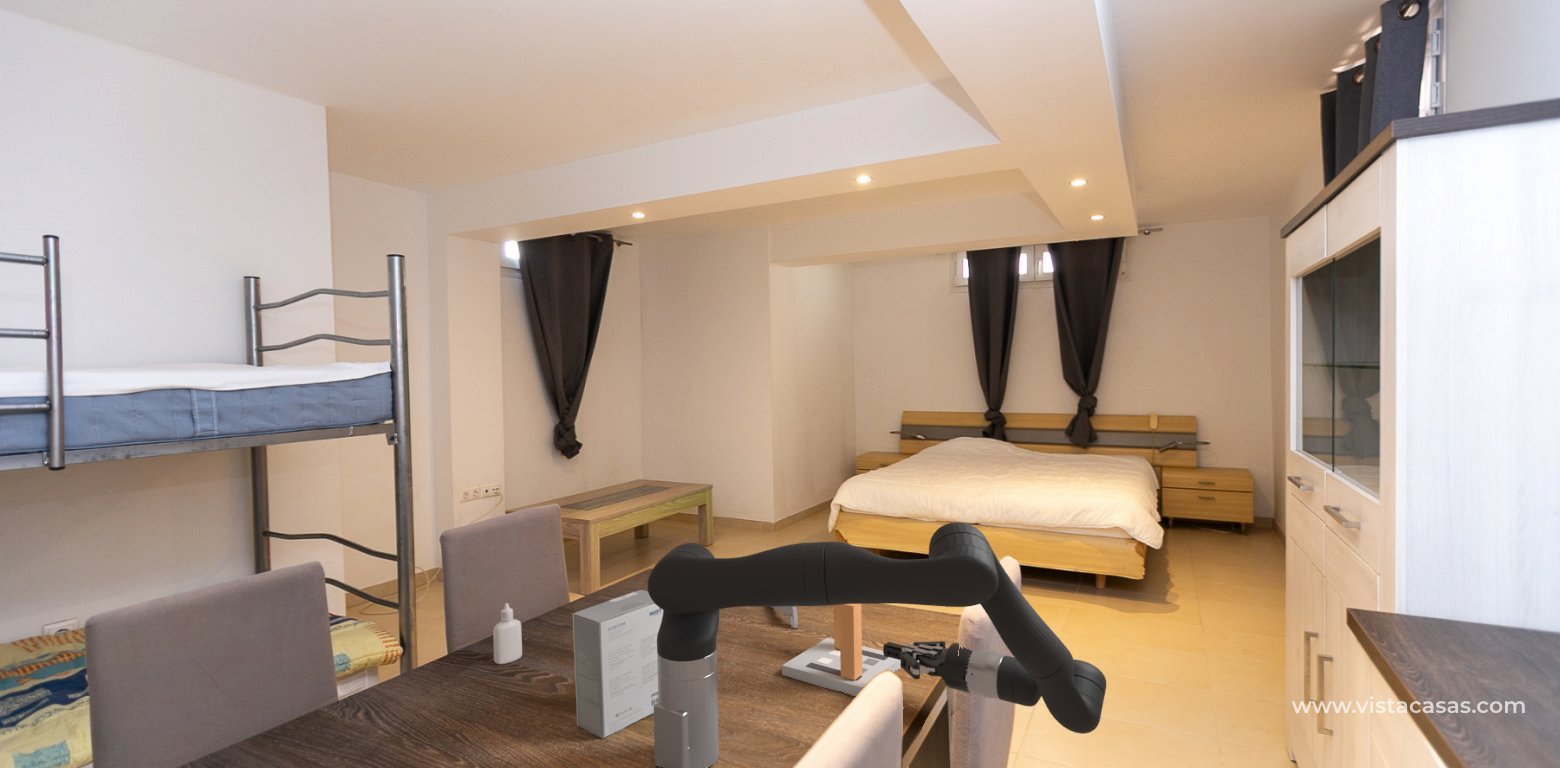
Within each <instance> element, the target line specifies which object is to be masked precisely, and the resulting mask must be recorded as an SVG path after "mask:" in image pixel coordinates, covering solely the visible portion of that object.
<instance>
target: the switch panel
mask: <svg viewBox="0 0 1560 768" xmlns="http://www.w3.org/2000/svg"><path fill="white" fill-rule="evenodd" d="M900 663H901V660H898V659H894V658H890V657H886V656H884V654H883V650H880V649H876V648H872V647H868V646H864V645H862V675H861V676H860V677H858V678H857V679H856V680H852V679H848V678H844V677H841V664H840V649H836V648H834V638H831V637H826V638H824V639H823V640H820V642H818V643H816V644H815V645H813V646H811V647H809V648H808V649H807V650H804V651H803V652H801V653H800V654H798V655H796V656H795V657H793V658H791V659H790V660H788V661H787V662H785V663H784V664H782V668H781V670H782V676H785V677H787V676H788V678H790V677H791V679H795V680H798V681H802V682H805V683H808V684H812V685H815V686H818V687H821V688H825V689H829V690H832V691H836V692H839V691H841V692H840V693H842V692H846V693H849V694H852V695H851V696H854V697H856V695H857V694H858V693H859V692H860V691H861V690H862V689H863V688H864V686H865V685H866V684H867V683H868V682H869V681H870V680H871V679H872V678H873V677H874V676H875V675H877V674H878V673H880V672H882V671H885V670H891V671H893V672H895V670H897V671H899V670H900V669H901V667H900ZM898 669H899V670H898ZM895 673H896V672H895ZM846 693H845V694H846ZM849 694H848V695H849Z"/></svg>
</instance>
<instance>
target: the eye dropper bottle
mask: <svg viewBox="0 0 1560 768" xmlns="http://www.w3.org/2000/svg"><path fill="white" fill-rule="evenodd" d="M492 631H493V636H492V637H493V661H494V663H495V664H497V665H505V664H509V663H512V662H514V661H517V660H518V659H520V658H522V656H523V640H522V639H523V638H522V622H521V621H520V620H518V619H515V618H514V609H513V608H511V607H510V604H509V602H506V603H504V606H503V609H501V610H500V621H499V622H498V623H497V624H496V625H494V627H493V630H492Z"/></svg>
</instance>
